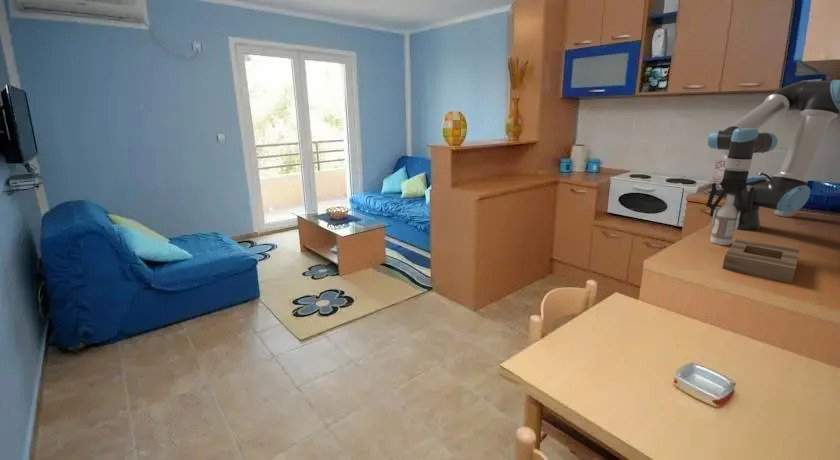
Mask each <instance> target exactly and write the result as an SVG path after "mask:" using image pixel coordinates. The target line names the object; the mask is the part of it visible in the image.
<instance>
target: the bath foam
mask: <svg viewBox="0 0 840 460" xmlns="http://www.w3.org/2000/svg"><path fill="white" fill-rule="evenodd" d="M725 195H726V197H725V200H724V201H725V202H724V203H723V204H722V205H721V206H720V207H719V208H717V209H718V210H717V213H716V216H715V221H714V225H712V226H713V227H712V231H711V236H710V239H709V240H710V242H711V243H713V244H715V245H720V246H729V245H732V242H733V238H734V234H735V230H736V229H734V228H735V224H736V219H737V215H738V213H737V209H736V207H735V206H734V201H735V197H736V195H733V194H730V193H726V194H725Z"/></svg>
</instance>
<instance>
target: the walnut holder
mask: <svg viewBox="0 0 840 460" xmlns="http://www.w3.org/2000/svg"><path fill="white" fill-rule="evenodd" d="M732 242H733V243H731V244H730V245H731V246H730V247H729V248H728V250H727V251H726V253H725V254H724V259H723V264H722V268H721V269H724V270H727V271H731V272H733V271H734V272H736V273H737V272H738V273H741V274H747V275H750V276H751V275H752V276H756V277H760V278H761V277H762V278H765V279H769V280H775V281H778V282H779V281H780V282H784V283H789V284H792V283H793V280H794V276H795V273H796V269H797V265H798V260H799V254H800V249H799V248H793V247H788V246H782V245H776V244H772V243H767V242H766V243H764V242H760V241H754V240H748V239H742V238H735V239H734V241H732Z"/></svg>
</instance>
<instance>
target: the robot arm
mask: <svg viewBox="0 0 840 460" xmlns="http://www.w3.org/2000/svg"><path fill="white" fill-rule="evenodd" d="M790 111H799V114H800V115H801V116H802V118H801V120H800V122H799V124H798V127H797V130H796V131H795V135H794V136H793V139H792V141H791V144H790V145H789V148H788V150H787V153H786V155H785V157H784V160H783V161H782V164H781V167H780V169H779V170H778V173H776V174H774V175H772V176H771V178H770V180H768V177H767V176H766V175H749V170H750V169H751V164H752V160H753V156H754V154H759V153H760V154H763V153H769V152H771V151H773V150H774V149H775V148H776V147H777V146H778V141H779V140H778V137H777V136H776V135H775V134H774V133H771V132H759V130H758V129H760V128H761V127H762V126H764V125H766V124H767V123H768V122H770V121H771V120H773V119H774V118H776V117H777V116H780V115H783V114H786V113H787V112H790ZM839 114H840V79H832V80H831V79H830V80H808V81H807V80H806V81H798V82H794V83H792V84H789V85H786V86H784V87H782V88H779V89H778V90H776V91H774V92H773V93H771V94H770V95H768V96H767V97H766V98H765V99H764V101H763V103H760V104H759V105H758V106H757V107H755V108H754V109H752V110H751V111H749V112H748V113H747V114H745V115H743V116H742V117H741V118H739V119H738V120H737V121H735V122H734V123H731V125H729V126H728V127H727V128H725V129H724V130H719V129H718V130H714V131H712V132H711V133H710V134H709V135H708V137H707V145H708V148H711V149H715V150H719V151H720V150H723V151H728V154H727V158H726V162H725V167H724V168H725V169H724V171H723V177H722V180H721V181H719V182H716V181H715V182H712V184H711V191H710V194H709V197H708V200H707V202H706V204H705V205H706V207H708V208H710V212H709V217H711V224H710V225H711V226H714V221H715V216H716V213H717V211H718V209H719V208H717V206H718V205H719V204H720V202H721V201H722V199H723V198H724V197H725V195H727V194H733V195H736V197H735V201H734V206H735V207H736V209H737V213H738V215H737V219H736V224H735V228H734V229H735V230H737V229H738V230H747V231H748V230H749V231H750V230H751V231H753V230H759V229H760V228H761V222H760V221H761V218H760V213H759V210H760V208H765V209H770V210H774V211H775V210H778V211H785V212H794V213H795V212H797V211H799V210H800V209H801V208H803V207H804V206H805V205H806V203H808V200H809V198H810V195H811V189H810V186H808V181H807V179H806V176H807V174H808V172H809V169H810V167H811V164H812V162H813V160H814V159H815V155H816V154H817V152H818V149H819V147H820V145H821V142H822V141H823V138H824V135H825V133H826V132H827V129H828V126H829V125H830V122H831V121H832V120H833V119H836V118H838V117H839ZM720 186H721V188H722V192H720V195H719V196H718V197H717V198H716V200H715V202H714V203H713V200H714V197H715V195H716V192H717V189H718V188H720Z"/></svg>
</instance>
